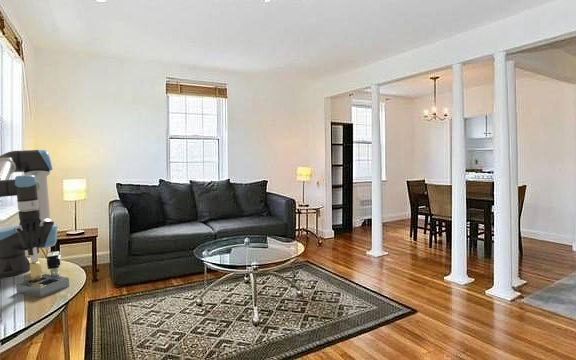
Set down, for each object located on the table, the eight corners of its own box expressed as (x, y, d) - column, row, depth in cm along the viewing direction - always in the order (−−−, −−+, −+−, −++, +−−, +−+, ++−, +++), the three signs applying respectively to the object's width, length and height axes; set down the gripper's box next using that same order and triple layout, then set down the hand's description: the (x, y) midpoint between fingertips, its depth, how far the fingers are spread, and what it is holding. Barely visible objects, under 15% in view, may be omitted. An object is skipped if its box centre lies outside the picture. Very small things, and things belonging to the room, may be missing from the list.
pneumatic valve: (48, 279, 174) (45, 255, 173) (50, 272, 184) (48, 249, 183) (61, 277, 177) (59, 253, 175) (63, 270, 187) (61, 247, 186)
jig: (16, 293, 159) (15, 284, 158) (46, 282, 171) (45, 274, 170) (40, 297, 153) (39, 288, 152) (69, 286, 165) (68, 277, 164)
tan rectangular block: (30, 289, 162) (27, 263, 161) (39, 286, 166) (36, 260, 165) (36, 290, 161) (33, 264, 160) (45, 287, 164) (42, 261, 163)
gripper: (18, 213, 152) (24, 267, 155) (49, 207, 164) (54, 257, 167) (7, 212, 155) (13, 265, 157) (38, 207, 167) (43, 256, 169)
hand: (34, 261), depth 162 cm, fingers closed
